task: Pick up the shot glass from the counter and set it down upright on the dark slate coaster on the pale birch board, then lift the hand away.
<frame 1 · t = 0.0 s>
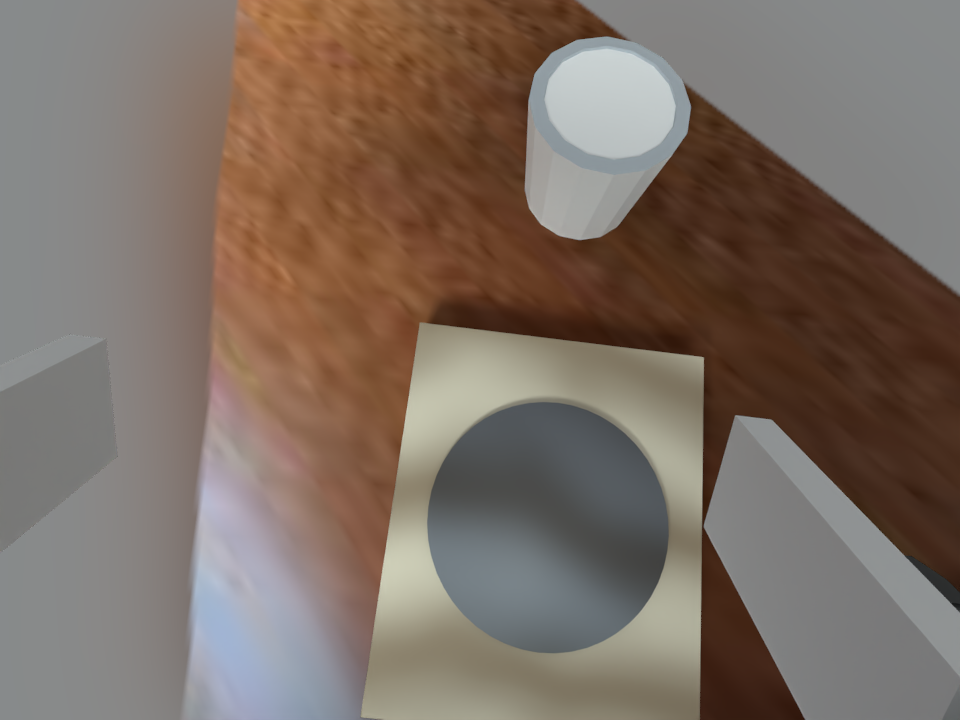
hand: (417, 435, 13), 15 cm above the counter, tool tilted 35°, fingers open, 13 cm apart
shot glass: (577, 193, 32), on the counter
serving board: (541, 521, 27), on the counter
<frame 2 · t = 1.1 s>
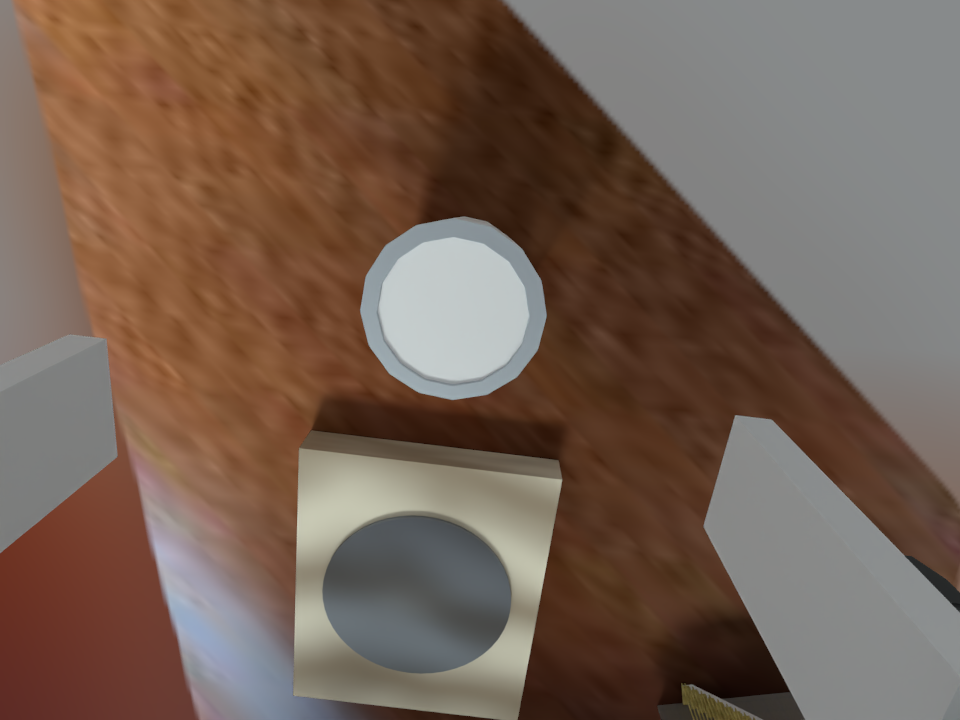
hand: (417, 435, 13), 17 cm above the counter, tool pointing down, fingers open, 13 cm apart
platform: (719, 680, 37), on the counter
shot glass: (463, 276, 29), on the counter
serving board: (421, 571, 34), on the counter
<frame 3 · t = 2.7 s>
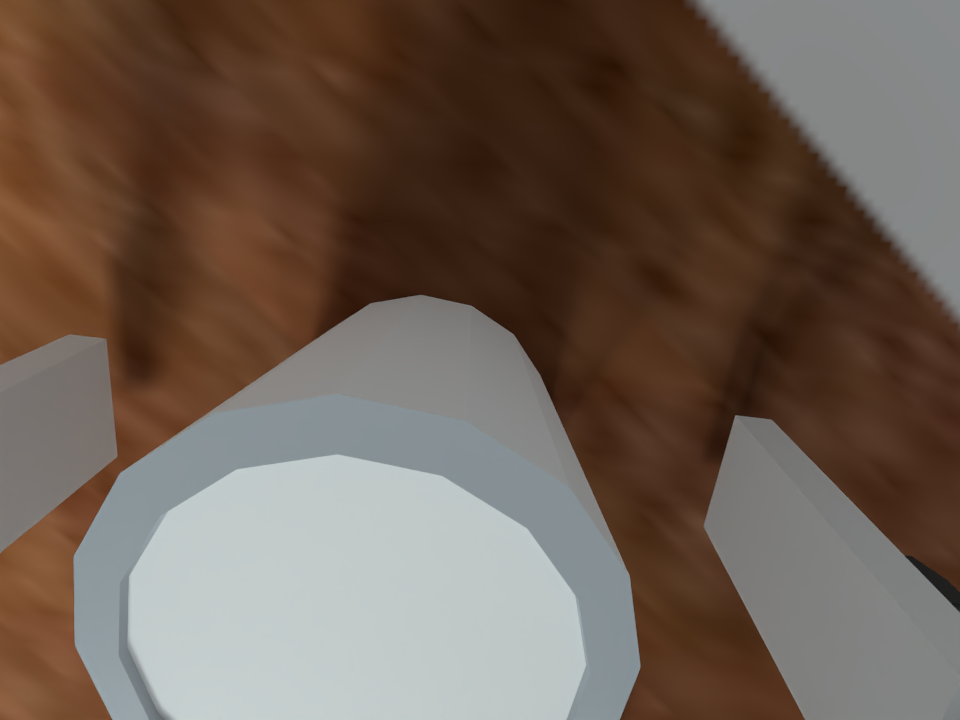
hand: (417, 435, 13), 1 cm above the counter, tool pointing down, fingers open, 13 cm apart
shot glass: (423, 412, 14), on the counter
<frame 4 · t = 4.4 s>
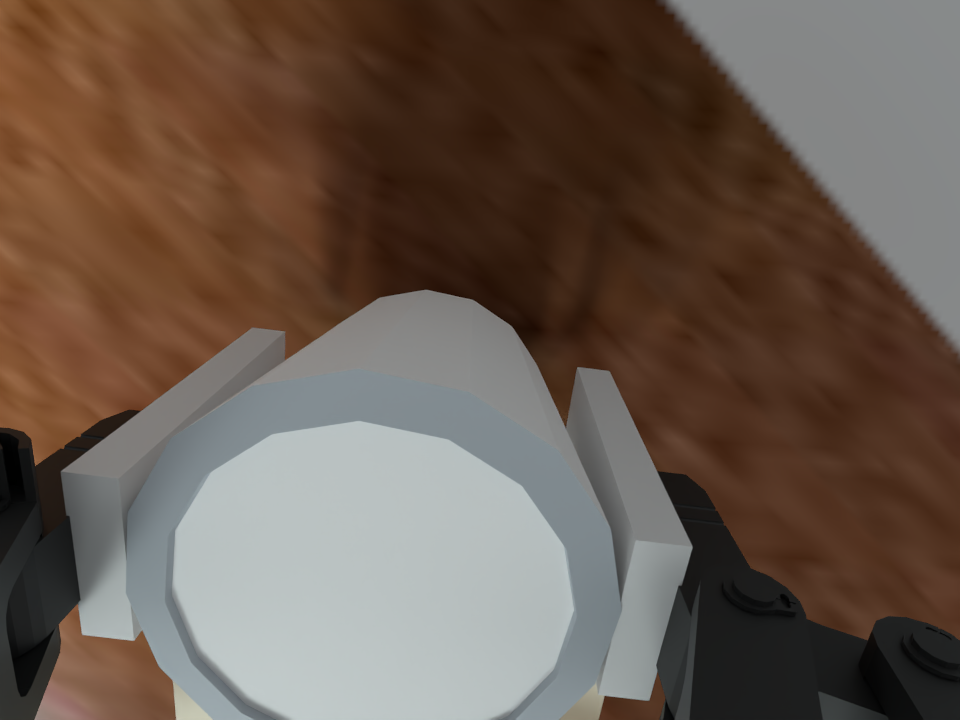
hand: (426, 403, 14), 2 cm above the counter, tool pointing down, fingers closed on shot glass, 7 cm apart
shot glass: (428, 399, 15), point 2 cm above the counter, touching gripper
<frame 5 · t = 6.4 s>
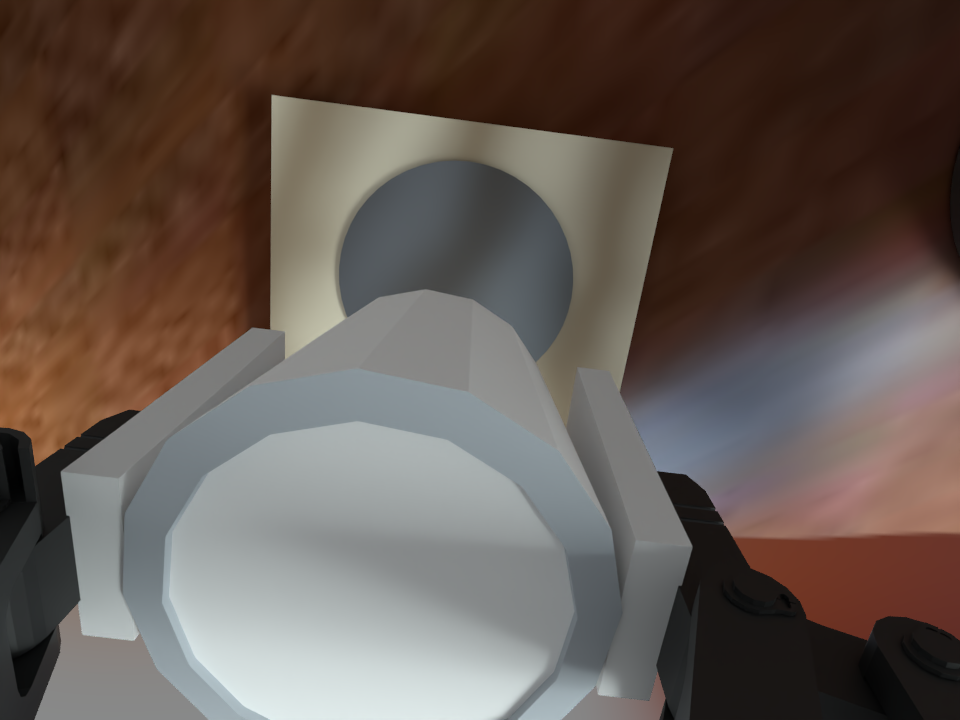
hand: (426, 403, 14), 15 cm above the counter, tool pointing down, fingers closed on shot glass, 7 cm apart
shot glass: (428, 399, 15), point 14 cm above the counter, touching gripper
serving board: (458, 272, 28), on the counter
when the fingers open (3 cm above the counter, at t = 8.7 s): shot glass stays where it is, resting on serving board.
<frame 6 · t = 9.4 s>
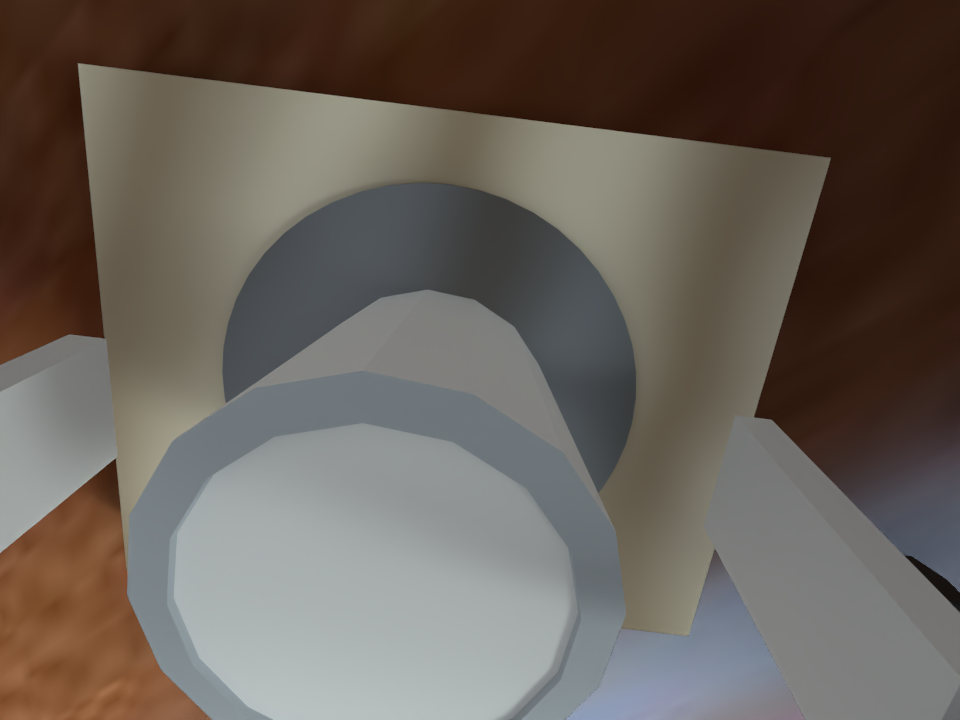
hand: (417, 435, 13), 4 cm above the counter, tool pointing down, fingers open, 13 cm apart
shot glass: (430, 399, 15), point 2 cm above the counter, touching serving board
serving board: (437, 365, 17), on the counter
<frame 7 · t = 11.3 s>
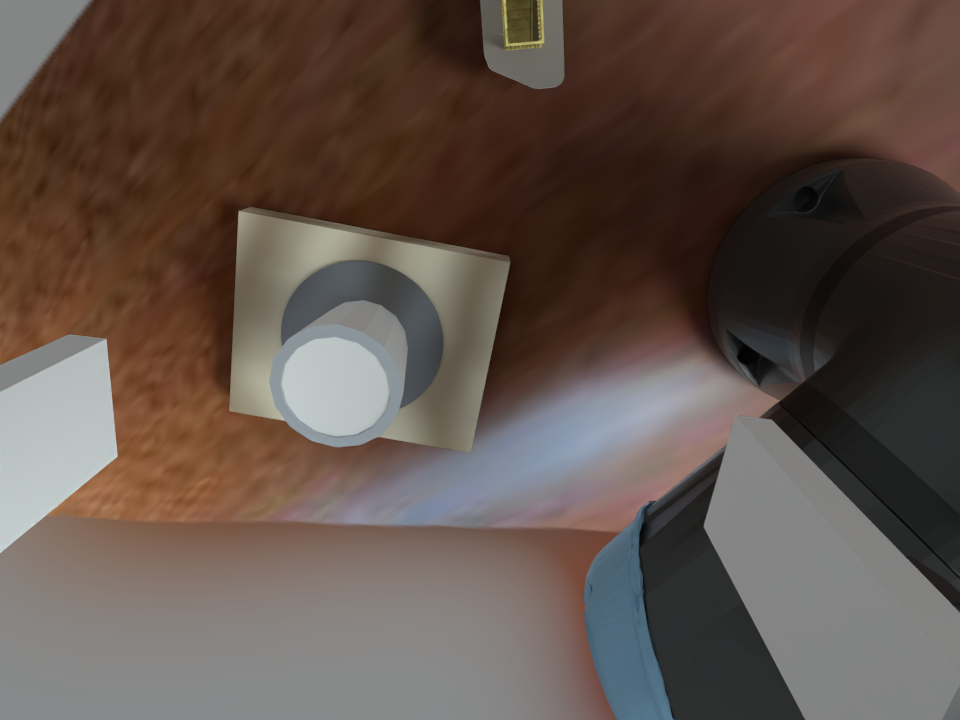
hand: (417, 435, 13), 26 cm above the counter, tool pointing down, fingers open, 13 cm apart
shot glass: (363, 343, 38), point 2 cm above the counter, touching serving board
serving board: (368, 330, 40), on the counter
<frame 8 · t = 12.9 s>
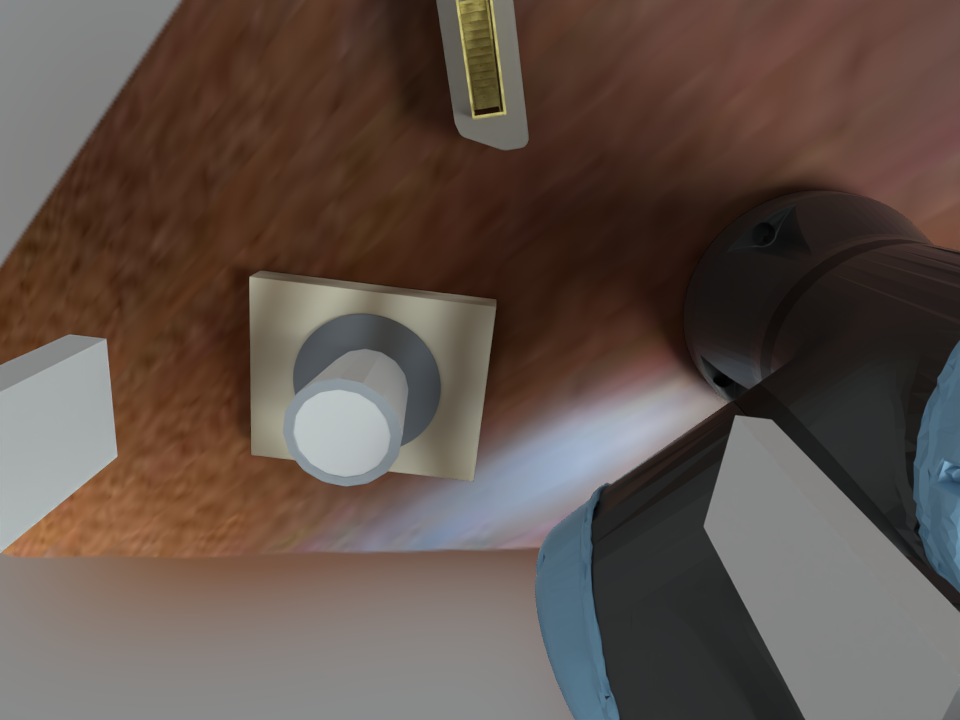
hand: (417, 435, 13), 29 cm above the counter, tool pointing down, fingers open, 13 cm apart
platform: (483, 65, 37), on the counter
shot glass: (367, 387, 41), point 2 cm above the counter, touching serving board
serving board: (373, 374, 43), on the counter
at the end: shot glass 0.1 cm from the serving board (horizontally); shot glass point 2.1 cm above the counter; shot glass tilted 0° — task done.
